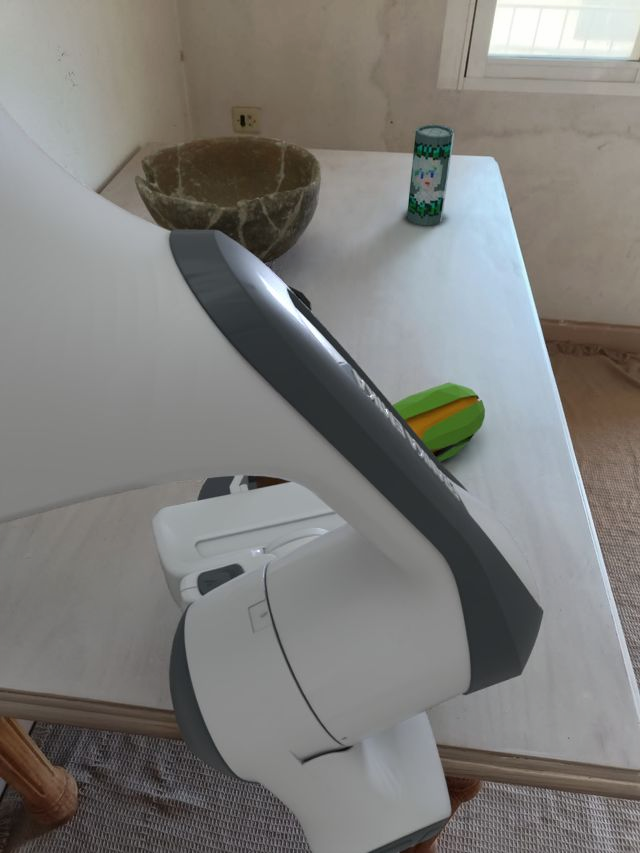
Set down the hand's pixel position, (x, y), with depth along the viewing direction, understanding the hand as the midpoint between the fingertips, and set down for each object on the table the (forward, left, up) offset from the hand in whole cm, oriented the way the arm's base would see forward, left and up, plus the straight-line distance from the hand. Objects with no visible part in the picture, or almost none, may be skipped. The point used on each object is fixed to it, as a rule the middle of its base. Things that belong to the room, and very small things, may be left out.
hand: (268, 456), depth 53 cm
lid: (0, -1, -5) cm, 5 cm away
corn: (+18, -3, -12) cm, 22 cm away
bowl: (+36, +45, -12) cm, 59 cm away
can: (+69, +31, -12) cm, 76 cm away
